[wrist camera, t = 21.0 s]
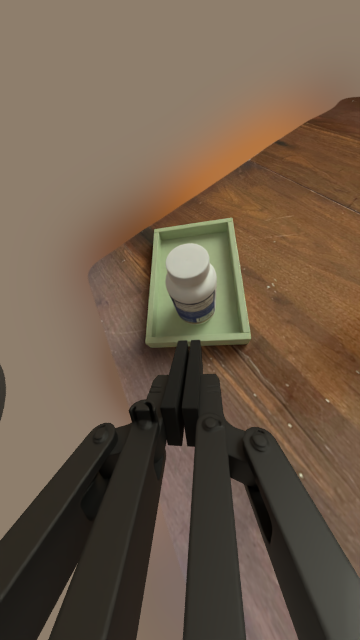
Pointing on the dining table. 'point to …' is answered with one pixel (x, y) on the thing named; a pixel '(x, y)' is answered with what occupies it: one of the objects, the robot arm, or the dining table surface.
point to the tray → (230, 300)
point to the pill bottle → (191, 283)
